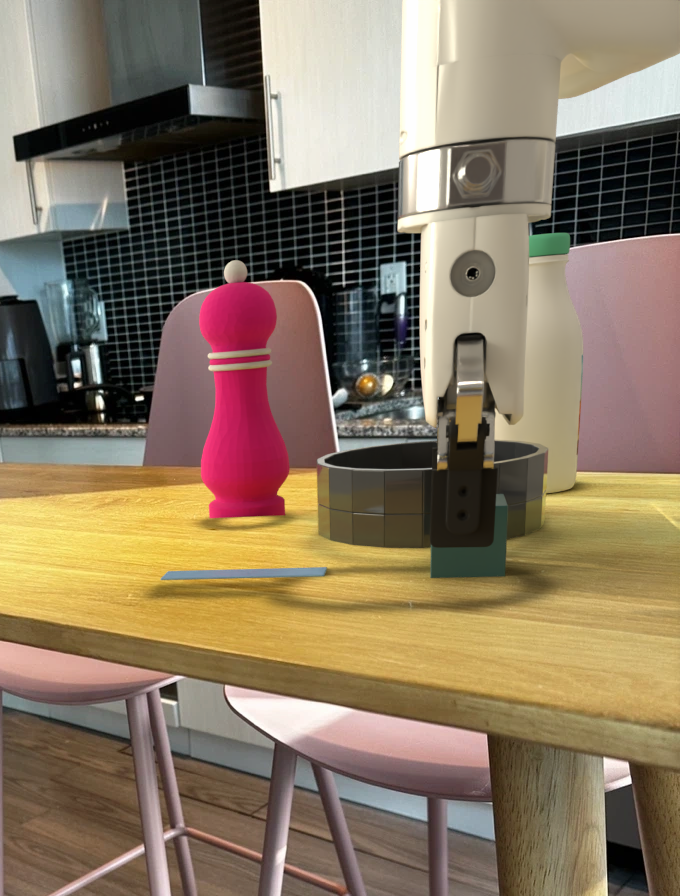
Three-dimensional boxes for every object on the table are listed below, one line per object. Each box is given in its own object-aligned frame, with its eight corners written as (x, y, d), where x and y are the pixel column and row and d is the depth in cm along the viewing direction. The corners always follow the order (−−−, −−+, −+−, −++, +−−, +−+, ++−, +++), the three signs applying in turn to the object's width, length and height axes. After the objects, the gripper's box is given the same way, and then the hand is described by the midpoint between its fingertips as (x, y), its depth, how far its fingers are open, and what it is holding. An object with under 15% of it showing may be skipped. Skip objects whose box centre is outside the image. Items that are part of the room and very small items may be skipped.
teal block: (501, 561, 61) (503, 493, 59) (505, 578, 57) (508, 505, 56) (430, 563, 62) (431, 496, 60) (430, 579, 58) (431, 508, 57)
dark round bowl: (476, 512, 81) (479, 434, 79) (588, 546, 67) (595, 452, 65) (291, 535, 79) (288, 454, 77) (365, 574, 65) (364, 478, 62)
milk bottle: (576, 495, 84) (593, 226, 77) (477, 498, 87) (485, 238, 80) (575, 480, 91) (591, 232, 84) (483, 483, 93) (491, 243, 86)
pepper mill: (232, 513, 90) (219, 265, 83) (306, 515, 86) (299, 255, 79) (187, 529, 85) (169, 265, 78) (264, 532, 81) (252, 254, 74)
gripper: (573, 163, 44) (543, 561, 50) (537, 203, 59) (518, 502, 65) (391, 181, 46) (384, 562, 52) (402, 216, 61) (396, 505, 67)
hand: (459, 528), depth 58 cm, fingers open, 9 cm apart
